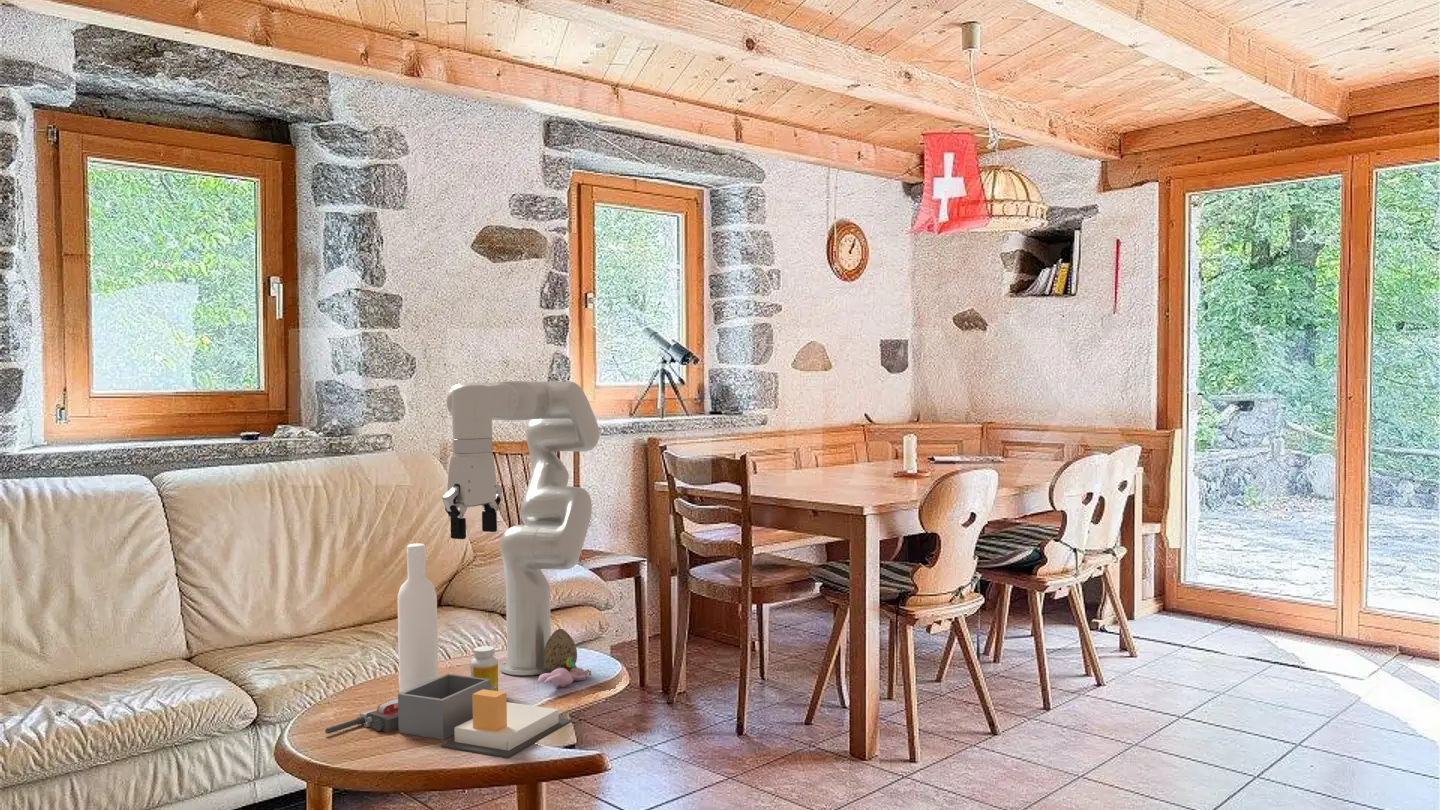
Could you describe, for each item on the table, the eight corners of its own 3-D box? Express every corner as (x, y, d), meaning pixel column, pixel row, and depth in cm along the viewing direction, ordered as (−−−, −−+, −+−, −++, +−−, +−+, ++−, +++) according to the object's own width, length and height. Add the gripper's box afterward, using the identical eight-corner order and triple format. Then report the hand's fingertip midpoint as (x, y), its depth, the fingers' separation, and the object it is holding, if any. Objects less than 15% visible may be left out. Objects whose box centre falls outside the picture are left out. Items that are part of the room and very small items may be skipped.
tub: (448, 709, 202) (448, 673, 202) (491, 716, 198) (490, 679, 198) (398, 732, 189) (397, 694, 189) (443, 739, 185) (442, 700, 185)
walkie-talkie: (412, 708, 205) (322, 737, 188) (412, 685, 205) (321, 713, 188) (442, 716, 200) (352, 747, 183) (442, 693, 200) (351, 722, 183)
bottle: (432, 695, 211) (429, 547, 210) (393, 696, 211) (390, 548, 210) (443, 684, 219) (440, 541, 218) (406, 684, 219) (403, 541, 218)
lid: (507, 715, 197) (506, 670, 197) (558, 722, 192) (557, 676, 192) (454, 741, 183) (453, 693, 183) (508, 750, 178) (507, 701, 178)
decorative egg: (541, 672, 227) (540, 626, 227) (573, 669, 229) (573, 623, 229) (546, 681, 220) (546, 634, 220) (580, 678, 222) (579, 631, 222)
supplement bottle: (466, 695, 211) (465, 648, 211) (490, 690, 215) (489, 643, 214) (478, 701, 207) (477, 653, 207) (503, 696, 210) (502, 648, 210)
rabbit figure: (573, 681, 225) (528, 688, 212) (576, 653, 226) (531, 658, 213) (597, 685, 222) (552, 692, 209) (599, 656, 223) (555, 662, 210)
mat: (509, 712, 200) (509, 710, 200) (572, 721, 194) (572, 719, 194) (441, 746, 182) (441, 744, 182) (507, 758, 176) (507, 755, 176)
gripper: (484, 444, 213) (485, 528, 214) (427, 450, 198) (429, 540, 198) (514, 445, 210) (516, 529, 211) (460, 451, 195) (461, 542, 195)
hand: (474, 535), depth 205 cm, fingers open, 9 cm apart
